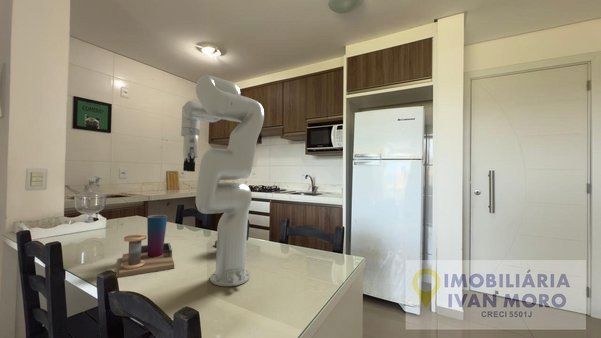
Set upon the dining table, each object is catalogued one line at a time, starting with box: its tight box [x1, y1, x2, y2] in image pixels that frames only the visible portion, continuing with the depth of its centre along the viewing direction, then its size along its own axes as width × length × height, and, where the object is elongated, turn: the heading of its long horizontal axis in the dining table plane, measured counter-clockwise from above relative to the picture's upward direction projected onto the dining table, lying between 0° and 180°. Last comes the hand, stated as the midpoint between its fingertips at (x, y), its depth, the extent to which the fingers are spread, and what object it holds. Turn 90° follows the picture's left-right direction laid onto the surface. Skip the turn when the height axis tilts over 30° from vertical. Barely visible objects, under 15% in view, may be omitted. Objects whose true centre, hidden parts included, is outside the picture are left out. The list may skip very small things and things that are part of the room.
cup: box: [146, 214, 168, 257], centre depth 97 cm, size 7×7×15 cm
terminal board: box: [118, 233, 175, 278], centre depth 93 cm, size 20×16×12 cm
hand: (188, 171), depth 112 cm, fingers open, 9 cm apart
